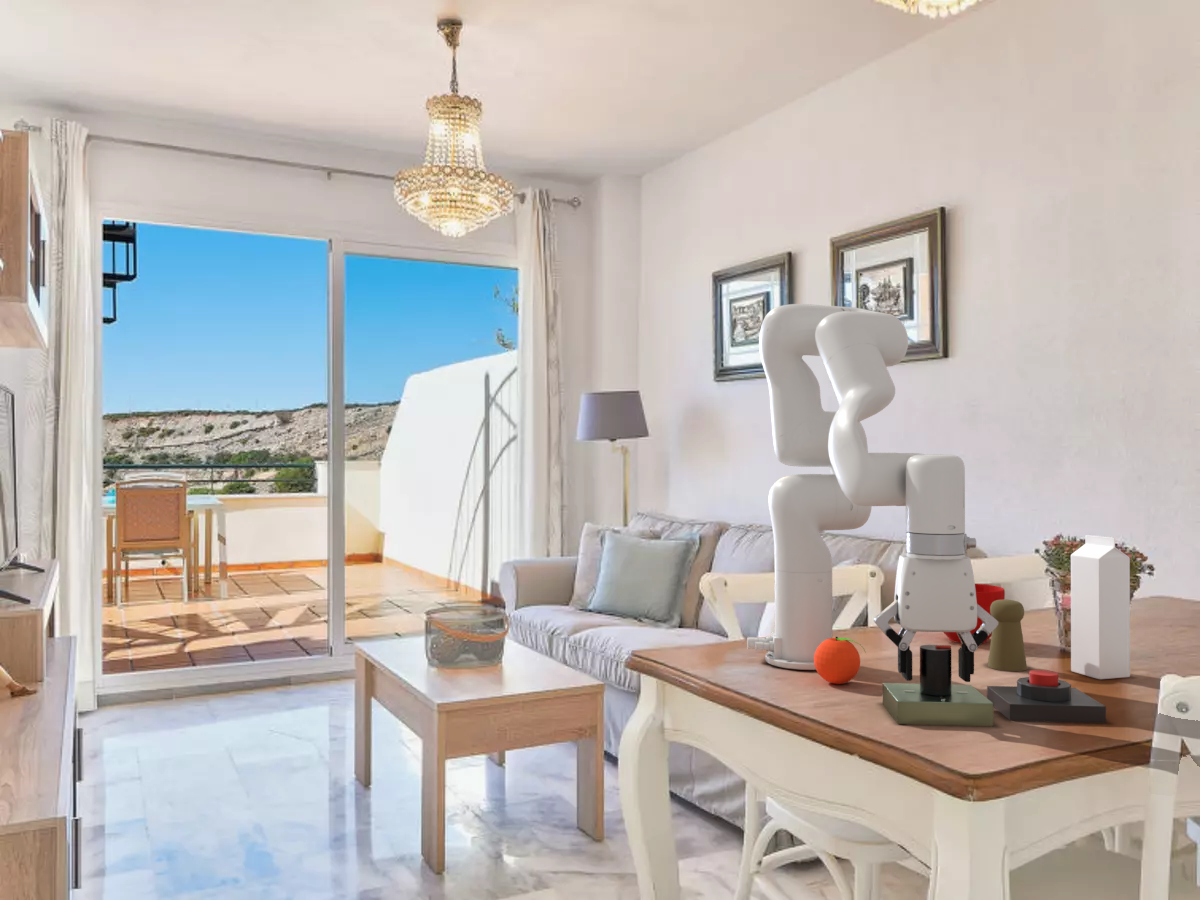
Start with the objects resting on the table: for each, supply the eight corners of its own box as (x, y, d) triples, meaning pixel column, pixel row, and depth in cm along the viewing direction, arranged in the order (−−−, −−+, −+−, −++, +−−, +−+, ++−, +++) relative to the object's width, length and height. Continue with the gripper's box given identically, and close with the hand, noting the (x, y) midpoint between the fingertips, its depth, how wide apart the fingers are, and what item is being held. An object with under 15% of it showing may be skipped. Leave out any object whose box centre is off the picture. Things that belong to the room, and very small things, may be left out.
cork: (1031, 671, 153) (1031, 603, 153) (991, 670, 155) (991, 602, 155) (1022, 663, 159) (1022, 598, 159) (984, 662, 161) (983, 596, 161)
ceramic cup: (908, 631, 189) (907, 581, 189) (1000, 635, 184) (999, 584, 184) (910, 644, 176) (910, 590, 176) (1009, 649, 172) (1009, 593, 172)
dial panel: (897, 724, 124) (897, 699, 124) (882, 704, 134) (882, 681, 134) (993, 726, 122) (993, 702, 122) (971, 706, 132) (971, 683, 132)
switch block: (1010, 720, 125) (1010, 690, 125) (986, 701, 135) (986, 673, 135) (1105, 723, 124) (1105, 692, 124) (1075, 703, 134) (1075, 674, 134)
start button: (1034, 688, 128) (1034, 675, 128) (1025, 682, 131) (1025, 669, 131) (1062, 688, 128) (1062, 675, 128) (1052, 682, 131) (1052, 669, 131)
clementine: (859, 677, 149) (859, 632, 149) (873, 688, 142) (873, 641, 143) (808, 678, 149) (808, 632, 149) (820, 688, 142) (820, 641, 142)
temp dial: (923, 695, 126) (923, 647, 126) (916, 688, 130) (916, 642, 130) (955, 696, 126) (954, 648, 126) (947, 688, 130) (946, 642, 130)
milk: (1099, 680, 148) (1098, 538, 148) (1070, 671, 154) (1069, 534, 154) (1131, 677, 150) (1130, 536, 150) (1100, 668, 156) (1100, 533, 156)
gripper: (993, 544, 131) (993, 674, 131) (864, 543, 133) (864, 671, 133) (1011, 549, 124) (1012, 687, 123) (874, 548, 125) (874, 684, 125)
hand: (935, 678), depth 128 cm, fingers open, 6 cm apart
